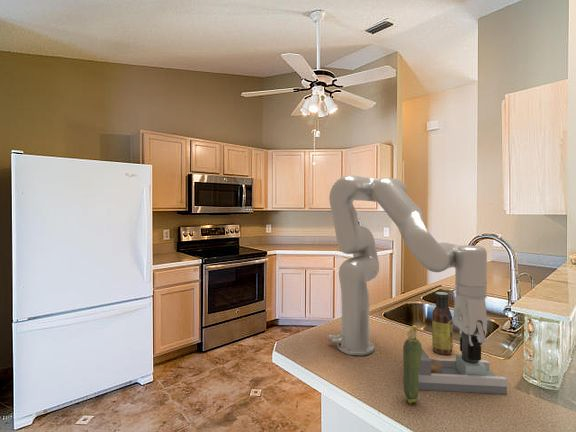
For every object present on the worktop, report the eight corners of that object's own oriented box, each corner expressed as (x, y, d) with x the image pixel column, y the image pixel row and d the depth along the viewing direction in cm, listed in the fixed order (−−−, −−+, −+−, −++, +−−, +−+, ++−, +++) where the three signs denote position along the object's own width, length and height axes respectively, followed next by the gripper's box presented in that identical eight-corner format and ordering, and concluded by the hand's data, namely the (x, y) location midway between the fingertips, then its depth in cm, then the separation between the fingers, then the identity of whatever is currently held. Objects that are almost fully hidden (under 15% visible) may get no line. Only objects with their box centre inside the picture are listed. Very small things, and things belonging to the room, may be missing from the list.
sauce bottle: (455, 356, 103) (455, 296, 103) (434, 355, 105) (435, 295, 104) (449, 347, 110) (449, 291, 109) (430, 346, 111) (430, 290, 110)
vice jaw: (466, 380, 85) (466, 336, 85) (455, 367, 92) (455, 326, 91) (485, 381, 84) (486, 337, 84) (473, 368, 91) (474, 327, 91)
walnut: (428, 376, 87) (428, 365, 87) (423, 369, 91) (423, 358, 91) (443, 377, 87) (443, 366, 87) (438, 370, 91) (438, 359, 91)
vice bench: (415, 389, 85) (415, 360, 85) (405, 370, 95) (405, 344, 95) (506, 394, 82) (507, 364, 82) (487, 374, 92) (487, 347, 92)
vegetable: (400, 396, 82) (400, 320, 81) (416, 395, 82) (416, 319, 82) (408, 407, 77) (408, 326, 77) (425, 406, 78) (425, 326, 77)
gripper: (444, 282, 96) (444, 342, 97) (470, 298, 80) (470, 370, 80) (470, 283, 95) (470, 343, 96) (502, 299, 79) (501, 371, 79)
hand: (470, 354), depth 88 cm, fingers closed on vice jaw, 4 cm apart
